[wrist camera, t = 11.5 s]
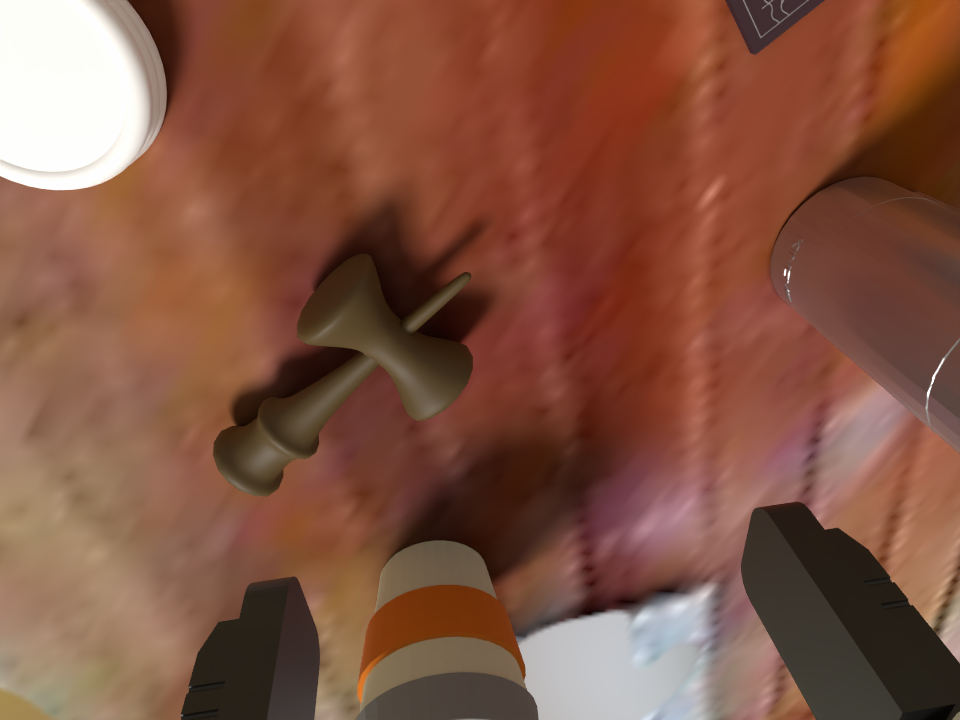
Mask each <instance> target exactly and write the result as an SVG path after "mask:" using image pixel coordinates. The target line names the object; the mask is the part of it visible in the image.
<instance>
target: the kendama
mask: <svg viewBox="0 0 960 720" xmlns="http://www.w3.org/2000/svg"><path fill="white" fill-rule="evenodd" d="M470 279H471V274H470V273H469V272H465V273H463V274H461V275H459V276H458V277H456V278H455V279H453V280H452V281H451V282H449V283H448V284H447V285H445V286H444V287H443V288H442V289H440V290H439V291H438V292H437V293H435V294H434V295H433V296H431V297H430V298H429V299H428V300H426V301H425V302H424V303H423V304H421V305H420V306H419V307H418V308H416V309H415V310H414V311H413V312H411V313H410V314H409V315H408V316H406V317H405V318H404V319H403V320H401V319H400V318H399V317H397V316H396V315H395V314H394V313H393V312H392V311H391V309H390V308H389V307H388V305H387V303H386V301H385V299H384V296H383V293H382V289H381V285H380V281H379V277H378V274H377V271H376V267H375V264H374V262H373V259H372V257H371V256H370V255H368V254H363V253H360V254H357V255H355V256H353V257H351V258H349V259H348V260H346V261H344V262H343V263H342V264H341V265H339V266H338V267H337V268H336V269H335V270H333V271H332V272H331V273H330V274H329V275H328V276H327V278H326V279H325V280H324V281H323V282H322V283H321V284H320V285H319V286H318V288H317V289H316V290H315V292H314V293H313V294H312V295H311V297H310V298H309V300H308V301H307V303H306V305H305V307H304V308H303V310H302V312H301V315H300V317H299V320H298V323H297V337H298V338H299V339H300V340H301V341H303V342H304V343H306V344H310V345H316V346H329V347H343V348H351V349H354V350H358V351H360V352H359V353H358V354H357V355H355V356H354V357H353V358H351V359H350V360H348V361H347V362H345V363H344V364H342V365H341V366H340V367H338V368H337V369H335V370H334V371H332V372H331V373H329V374H327V375H326V376H324V377H323V378H321V379H320V380H318V381H316V382H315V383H313V384H312V385H310V386H308V387H307V388H305V389H303V390H301V391H300V392H298V393H296V394H294V395H292V396H289V397H287V398H279V397H274V396H273V397H270V398H268V399H265V400H264V401H263V402H262V404H261V406H260V407H259V409H258V417H257V418H256V419H255V420H253V421H252V422H251V423H249V424H248V425H246V426H231V427H229V428H227V429H225V430H222V431H221V432H220V434H219V435H218V437H217V438H216V440H215V442H214V449H213V456H214V459H215V462H216V465H217V468H218V470H219V471H220V473H221V474H222V475H223V476H224V478H225V479H226V480H227V481H228V482H229V483H230V484H232V485H233V486H234V487H236V488H237V489H238V490H240V491H243V492H245V493H248V494H251V495H253V496H269V495H270V494H272V493H273V492H274V491H276V490H277V489H278V488H279V486H280V483H281V481H282V478H283V468H284V467H285V466H286V465H287V464H288V463H290V462H291V461H292V460H294V459H298V458H301V459H307V458H309V457H310V456H312V455H313V454H315V453H316V451H317V448H318V445H319V435H318V434H319V432H320V431H321V429H322V428H323V426H324V425H325V424H326V422H327V421H328V420H329V419H330V417H331V416H332V415H333V414H334V413H335V412H336V410H337V409H338V408H339V407H340V406H341V405H342V404H343V402H344V401H345V400H346V399H347V398H348V397H349V396H350V395H351V394H352V392H353V391H354V390H355V389H356V388H357V387H358V386H359V385H360V384H361V383H362V382H363V381H364V380H365V379H366V378H367V377H368V376H369V375H370V374H371V373H372V372H373V371H374V370H375V369H376V368H377V367H378V366H379V365H380V366H382V367H383V368H384V369H385V370H386V371H387V372H388V373H389V375H390V376H391V378H392V379H393V381H394V383H395V385H396V387H397V389H398V392H399V395H400V398H401V400H402V403H403V406H404V408H405V410H406V412H407V414H408V415H409V416H411V417H412V418H414V419H415V420H417V421H422V420H427V419H431V418H432V417H434V416H436V415H437V414H439V413H440V412H442V411H444V410H445V409H446V408H447V407H449V406H450V405H451V404H452V403H453V402H454V401H455V400H456V399H457V398H458V397H459V395H460V394H461V392H462V391H463V389H464V388H465V387H466V385H467V384H468V381H469V378H470V375H471V372H472V370H473V357H472V355H471V353H470V351H469V349H468V347H467V346H466V345H463V344H461V343H458V342H455V341H452V340H448V339H442V338H436V337H431V336H427V335H423V334H421V333H419V332H416V330H417V329H419V328H420V327H421V326H422V325H423V324H424V323H425V322H426V321H427V320H429V319H430V318H431V317H432V316H433V315H434V314H435V313H436V312H437V311H438V310H440V309H441V308H442V307H443V306H444V305H445V304H446V303H447V302H448V301H449V300H451V299H452V298H453V297H454V296H455V295H456V294H457V293H458V292H459V291H460V290H461V289H462V288H463V287H464V286H465V285H466V284H467V283H468V282H469V280H470Z"/></svg>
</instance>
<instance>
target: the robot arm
mask: <svg viewBox="0 0 960 720" xmlns="http://www.w3.org/2000/svg"><path fill="white" fill-rule="evenodd" d="M770 273H771V279H772V284H773V286H774V288H775V290H776V292H777V294H778V295H779V296H780V297H781V298H782V299H783V300H784V301H785V302H786V303H787V304H788V305H789V306H790V307H791V308H793V309H794V310H795V311H796V312H797V313H798V314H799V315H801V316H802V317H803V318H804V319H805V320H806V321H807V322H809V323H810V324H811V325H812V326H813V327H814V328H815V329H816V330H817V331H819V332H820V333H821V334H822V335H823V336H824V337H825V338H827V339H828V340H829V341H830V342H831V343H832V344H833V345H835V346H836V347H837V348H838V349H839V350H840V351H842V352H843V353H844V354H845V355H846V356H847V357H848V358H850V359H851V360H852V361H853V362H854V363H855V364H856V365H858V366H859V367H860V368H861V369H862V370H863V371H865V372H866V373H867V374H868V375H869V376H870V377H871V378H873V379H874V380H875V381H876V382H877V383H878V384H879V385H881V386H882V387H883V388H884V389H885V390H886V391H887V392H889V393H890V394H891V395H892V396H893V397H894V398H896V399H897V400H898V401H899V402H900V403H901V404H902V405H904V406H905V407H906V408H907V409H908V410H909V411H910V412H912V413H913V414H914V415H915V416H916V417H917V418H919V419H920V420H921V421H922V422H923V423H924V424H925V425H927V426H928V427H929V428H930V429H931V430H932V431H933V432H935V433H936V434H937V435H938V436H940V437H941V438H942V439H943V440H944V441H945V442H946V443H948V444H949V445H950V446H951V447H952V448H953V449H955V450H956V451H957V452H958V453H959V454H960V209H958V208H956V207H953V206H951V205H949V204H947V203H944V202H942V201H940V200H938V199H935V198H933V197H931V196H929V195H926V194H924V193H922V192H920V191H914V192H911V191H909V190H907V189H905V188H902V187H900V186H898V185H896V184H894V183H891V182H889V181H886V180H884V179H881V178H877V177H865V176H864V177H856V178H849V179H846V180H843V181H840V182H838V183H835V184H832V185H830V186H829V187H827V188H825V189H823V190H821V191H819V192H818V193H816V194H815V195H814V196H812V197H811V198H810V199H809V200H807V201H806V202H805V203H803V205H802V206H801V207H800V208H799V209H798V210H797V211H796V212H795V213H794V214H793V215H792V216H791V217H790V219H789V220H788V222H787V223H786V225H785V226H784V227H783V229H782V230H781V233H780V235H779V237H778V239H777V241H776V243H775V246H774V249H773V253H772V257H771V268H770ZM741 573H742V579H743V584H744V587H745V590H746V593H747V595H748V597H749V599H750V601H751V603H752V605H753V607H754V609H755V610H756V612H757V614H758V616H759V618H760V619H761V621H762V623H763V625H764V627H765V628H766V630H767V632H768V634H769V636H770V637H771V639H772V641H773V643H774V644H775V646H776V648H777V650H778V652H779V653H780V655H781V657H782V659H783V661H784V662H785V664H786V666H787V668H788V670H789V671H790V673H791V675H792V677H793V679H794V680H795V682H796V684H797V686H798V688H799V689H800V691H801V693H802V695H803V697H804V698H805V700H806V702H807V704H808V706H809V707H810V709H811V711H812V713H813V715H814V716H815V718H816V720H960V663H959V662H958V661H957V659H956V658H955V657H954V656H953V655H952V653H951V652H950V651H949V650H948V648H947V647H946V646H945V645H944V643H943V642H942V641H941V640H940V638H939V637H938V636H937V635H936V633H935V632H934V631H933V630H932V628H931V627H930V626H929V625H928V623H927V622H926V621H925V620H924V618H923V617H922V616H921V615H920V613H919V612H918V611H917V610H916V608H915V607H914V606H913V605H910V604H909V602H908V598H907V597H906V596H905V595H904V593H903V592H902V591H901V590H900V589H899V587H898V586H897V585H896V584H895V582H893V583H892V582H891V580H890V576H889V575H888V574H887V572H886V571H885V570H884V569H883V567H882V566H881V565H880V564H879V562H878V561H877V560H876V559H875V557H874V556H873V555H872V554H871V552H870V551H869V550H868V549H867V548H865V547H864V546H863V545H861V544H860V543H858V542H857V541H856V540H854V539H853V538H851V537H850V536H849V535H847V534H846V533H844V532H843V531H842V530H840V529H839V528H833V529H827V530H824V528H823V527H822V526H821V524H820V523H819V522H818V520H817V519H816V518H815V516H814V515H813V514H812V512H811V511H810V510H809V509H808V507H806V506H805V505H804V504H802V503H800V502H792V503H785V504H778V505H772V506H765V507H759V508H755V509H754V510H753V512H752V515H751V520H750V524H749V529H748V534H747V539H746V543H745V548H744V553H743V557H742V563H741ZM319 665H320V649H319V639H318V633H317V629H316V626H315V623H314V621H313V618H312V615H311V613H310V610H309V607H308V605H307V602H306V599H305V597H304V594H303V591H302V589H301V586H300V583H299V581H298V579H297V578H296V577H288V578H281V579H275V580H268V581H262V582H255V583H251V584H250V585H249V586H248V587H247V589H246V592H245V596H244V600H243V604H242V609H241V613H240V618H239V619H235V620H228V621H222V622H218V624H217V625H216V627H215V628H214V630H213V631H212V633H211V634H210V636H209V637H208V639H207V640H206V642H205V643H204V645H203V646H202V648H201V649H200V651H199V652H198V654H197V658H196V662H195V665H194V669H193V672H192V676H191V680H190V683H189V693H188V694H186V698H185V701H184V705H183V709H182V712H181V720H314V715H315V706H316V696H317V686H318V676H319Z"/></svg>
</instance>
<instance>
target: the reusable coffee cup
mask: <svg viewBox="0 0 960 720" xmlns="http://www.w3.org/2000/svg"><path fill="white" fill-rule="evenodd" d="M525 676H526V675H525V664H524V662H523V659H522V655H521V653H520V650H519V647H518V644H517V641H516V638H515V635H514V632H513V629H512V626H511V623H510V620H509V617H508V614H507V612H506V610H505V608H504V606H503V605H502V604H501V603H500V601H499V600H497V598H496V595H495V592H494V589H493V586H492V583H491V580H490V576H489V573H488V570H487V567H486V565H485V562H484V560H483V558H482V557H481V556H480V555H479V553H477V552H476V551H475V550H473V549H472V548H470V547H468V546H466V545H464V544H460V543H457V542H452V541H445V540H444V541H428V542H422V543H418V544H415V545H412V546H409V547H407V548H405V549H403V550H401V551H400V552H398V553H397V554H395V555H394V556H393V557H392V558H391V559H390V560H389V561H388V562H387V563H386V565H385V566H384V568H383V570H382V573H381V576H380V583H379V589H378V596H377V602H376V609H375V615H374V616H373V617H372V619H371V620H370V622H369V625H368V628H367V631H366V637H365V644H364V650H363V656H362V662H361V668H360V674H359V681H358V697H359V700H360V703H361V707H360V713H359V715H358V716H357V718H356V720H538V711H537V705H536V703H535V701H534V698H533V697H532V695H531V694H530V693H529V692H528V691H527V689H526V686H525V683H524V679H525Z"/></svg>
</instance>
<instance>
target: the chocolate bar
mask: <svg viewBox="0 0 960 720" xmlns="http://www.w3.org/2000/svg"><path fill="white" fill-rule="evenodd" d="M823 1H824V0H726V3H727V5H728V7H729V9H730V11H731V13H732V15H733V17H734V19H735V21H736V24H737V26H738V28H739V30H740V32H741V34H742V36H743V38H744V40H745V43H746V45H747V47H748V49H749V51H750V53H751V54H755V55H756V54H757V53H758V52H759V51H761V50H762V49H763V48H765V47H766V46H767V45H768V44H770V43H771V42H772V41H773V40H775V39H776V38H777V37H779V36H780V35H781V34H782V33H784V32H785V31H786V30H787V29H789V28H790V27H791V26H793V25H794V24H795V23H796V22H798V21H799V20H800V19H801V18H803V17H804V16H805V15H807V14H808V13H809V12H810V11H812V10H813V9H814V8H815V7H817V6H818V5H819V4H820V3H822V2H823Z"/></svg>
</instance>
